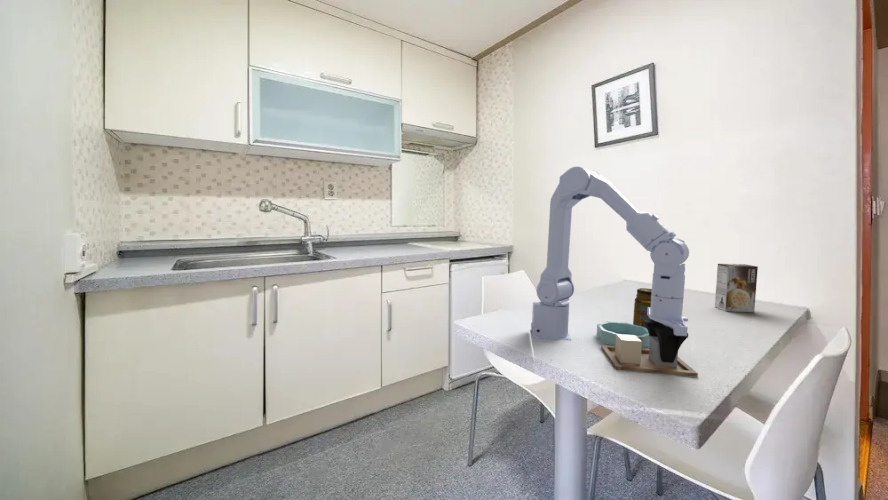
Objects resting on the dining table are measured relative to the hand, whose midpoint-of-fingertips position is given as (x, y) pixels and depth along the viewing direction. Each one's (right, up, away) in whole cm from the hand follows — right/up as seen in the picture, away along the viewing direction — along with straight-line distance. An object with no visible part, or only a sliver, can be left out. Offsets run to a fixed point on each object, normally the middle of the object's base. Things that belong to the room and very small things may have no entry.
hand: (662, 357), depth 74 cm
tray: (-3, -2, +1) cm, 4 cm away
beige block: (-7, -1, +1) cm, 7 cm away
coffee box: (+55, +2, +47) cm, 73 cm away
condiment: (+8, 0, +22) cm, 23 cm away
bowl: (-1, 0, +14) cm, 14 cm away
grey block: (0, -1, 0) cm, 1 cm away
